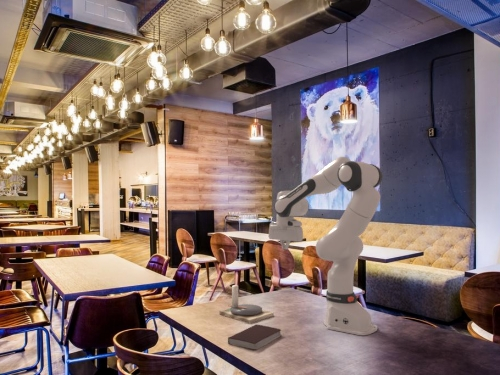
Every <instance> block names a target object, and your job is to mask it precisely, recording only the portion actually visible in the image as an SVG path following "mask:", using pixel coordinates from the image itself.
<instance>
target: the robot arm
mask: <svg viewBox="0 0 500 375" xmlns="http://www.w3.org/2000/svg"><path fill="white" fill-rule="evenodd" d="M383 176H384V175H383V172H382V170H381V168H379V166H377V165H375V164H370V163H366V162H364V161H363V162H362V161H353V160H351V159H350V158H348V157H347V156H339V157H336V158H335V159H333V160H331V161H330V162H329V163H328V164H326V165H325V166H324V167H323V168H322V169H320V170H319V171H318V172H317V173H315V174H314V175H313V176H311V177H309V178H308V179H306V180H305V181H303V182H302V183H301V184H299V185H297V186H296V187H295V188H293V190H290V189H287V190H285V189H284V190H281V191H279V192H277V196H276V200H275V203H274V210H275V213H276V221H271V222H270V223H269V229H268V239H269V240H275V241H279V244H280V245H281V249H282V250H289V246H290V244H291V242H302V241H303V240H304V231H303V222H302V221H301V220H298V219H295V217H302V216H305V215H307V213H308V212H309V209H310V203H309V202H308V200H307V198H308V197H310V196H314V195H315V196H316V195H324V194H329V193H332V192H334V191H335V190H337V189H338V188H340V187H341V186H344V187H345V189H346V190H347V191H348V192H351V193H352V197H351V199H350V201H349V203H348V204H347V205H346V208H345V210H344V212H343V214H342V215H341V217H340V219H339V220H337V222H336V224H335V225H334V226H333V227H332V228H331V229H330V230H329V231H328V232H327V233H326V234H325V235H323V237H320V238H319V239H317V241H316V244H315V251H316V254H317V255H316V256H317V257H319V259H322V260H323V261H327V262H328V261H329V262H333V263H332V265H331V267H330V269H329V270H328V272H327V279H326V280H327V283H326V284H327V285H326V286H327V287H326V288H327V289H326V292H325V293H326V298H325V299H326V310H325V317H324V320H323V324H324V325H325V326H326V329H328V330H331V331H337V332H342V333H347V334H352V335H358V336H367V335H371V334H373V333H375V332H377V330H378V325H376V324H373V320H372V317H371V314H370V312H369V311H368V310H367V309H365V308H364V307H363V306H362V304H360V303H359V301H358V298H360V294H357V295H356V293H355V292H354V274H355V270H356V265H357V261H358V259H359V257H360V255H361V254H362V252H363V250H364V242H363V240H362V239H361V237H360V236H361V235H363V233H364V232H365V231H366V229H367V227H369V224H370V222H371V220H372V219H373V217H374V215H375V213H376V211H377V209H378V207H379V204H380V201H381V193H380V192H379V191H378V190H377V189H376V188H377V187H378V186H379V185H380V184H382V181H383Z"/></svg>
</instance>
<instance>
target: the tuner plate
mask: <svg viewBox="0 0 500 375" xmlns="http://www.w3.org/2000/svg"><path fill="white" fill-rule="evenodd" d="M230 308H231V307H230ZM230 308H226V309H222V310H219V315H222V316H224V317H227V318H230V319H234V320H237V321H240V322H243V323H245V324H246V323H247V324H252V323H255V322H259V321H263V320H265V319H269V318H272V317H274V312H273V311H268V310H266V309H265V310H264V309H262V312H261V313H259V314H256V315H237V314H233V313H231V311H230Z"/></svg>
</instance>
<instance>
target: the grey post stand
mask: <svg viewBox="0 0 500 375" xmlns="http://www.w3.org/2000/svg"><path fill="white" fill-rule="evenodd" d="M228 307H230V311H231V313H233V314H237V315H256V314H259V313H261V312H262V310H263V307H262V306H260V305H256V304H250V303H249V304H248V303H247V304H246V303H245V304H244V303H243V304H239V285H238V284H233V285H232V286H231V304H229V305H228Z"/></svg>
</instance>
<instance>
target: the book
mask: <svg viewBox="0 0 500 375" xmlns="http://www.w3.org/2000/svg"><path fill="white" fill-rule="evenodd" d="M281 331H282V329H280V328H277V327H271V326H267V325H261V324H254V325H251V326H250V327H248V328H246V329H244V330H241V331H240V332H238V333H235V334H233V335H231V336H228V338H227V344H228V345H232V346H233V345H234V346H237V347H239V348H243V349H247V350H251V351H255V352H256V351H257V350H259V349H261V348H263V347H264V346H266V345H268V344H269V343H271V342H272V341H274V340H277V338H280V337H282V334H281Z"/></svg>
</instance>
